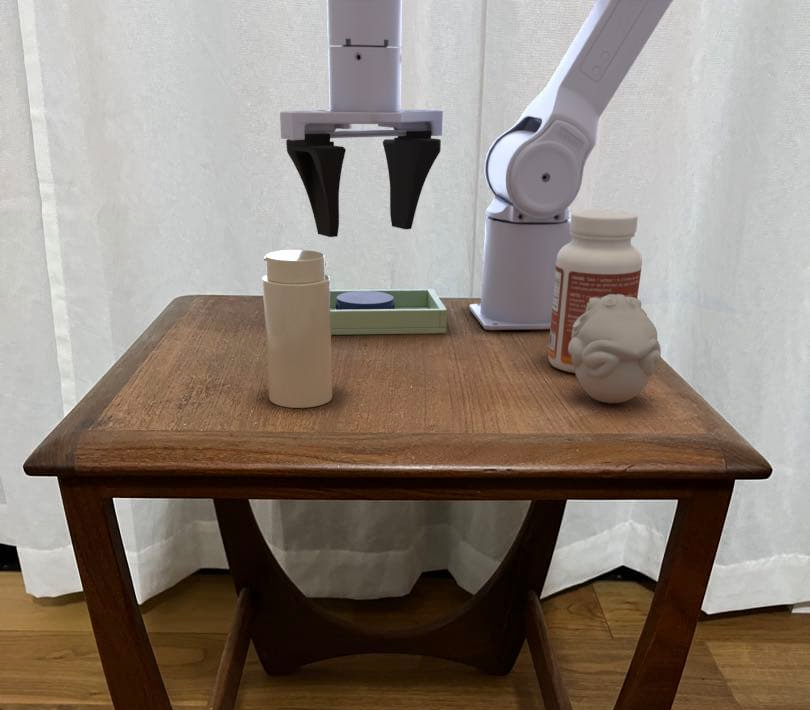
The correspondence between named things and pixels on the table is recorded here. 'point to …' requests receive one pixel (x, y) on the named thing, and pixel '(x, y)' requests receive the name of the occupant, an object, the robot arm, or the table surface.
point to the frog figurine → (614, 348)
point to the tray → (392, 314)
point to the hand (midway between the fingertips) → (365, 231)
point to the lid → (364, 300)
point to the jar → (297, 328)
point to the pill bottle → (591, 272)
